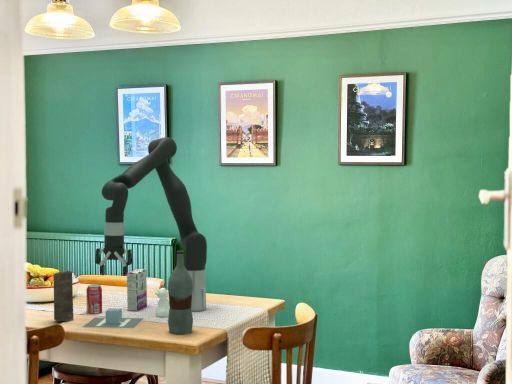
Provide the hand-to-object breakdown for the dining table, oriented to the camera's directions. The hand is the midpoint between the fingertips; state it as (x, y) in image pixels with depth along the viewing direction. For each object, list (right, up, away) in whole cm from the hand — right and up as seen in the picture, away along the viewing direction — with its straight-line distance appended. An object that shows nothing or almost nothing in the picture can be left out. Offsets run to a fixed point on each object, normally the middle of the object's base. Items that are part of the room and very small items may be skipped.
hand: (113, 275), depth 257 cm
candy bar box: (+4, -18, +29) cm, 34 cm away
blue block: (0, -18, 0) cm, 18 cm away
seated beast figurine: (+18, -19, +13) cm, 29 cm away
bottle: (+27, -20, -12) cm, 36 cm away
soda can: (-12, -19, +18) cm, 28 cm away
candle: (-21, -19, +4) cm, 28 cm away
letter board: (0, -19, 0) cm, 19 cm away
